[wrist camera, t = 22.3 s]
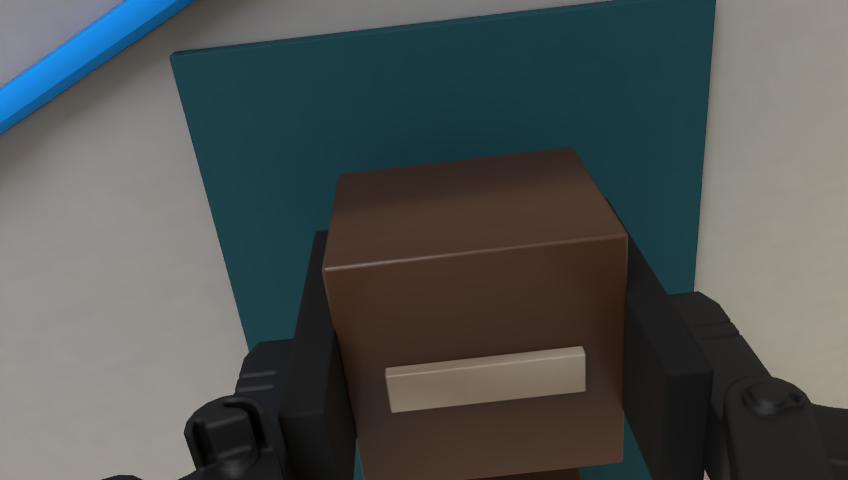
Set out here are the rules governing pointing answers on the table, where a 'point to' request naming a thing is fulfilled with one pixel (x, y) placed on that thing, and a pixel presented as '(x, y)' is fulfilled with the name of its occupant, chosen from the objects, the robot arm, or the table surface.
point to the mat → (451, 132)
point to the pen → (82, 56)
